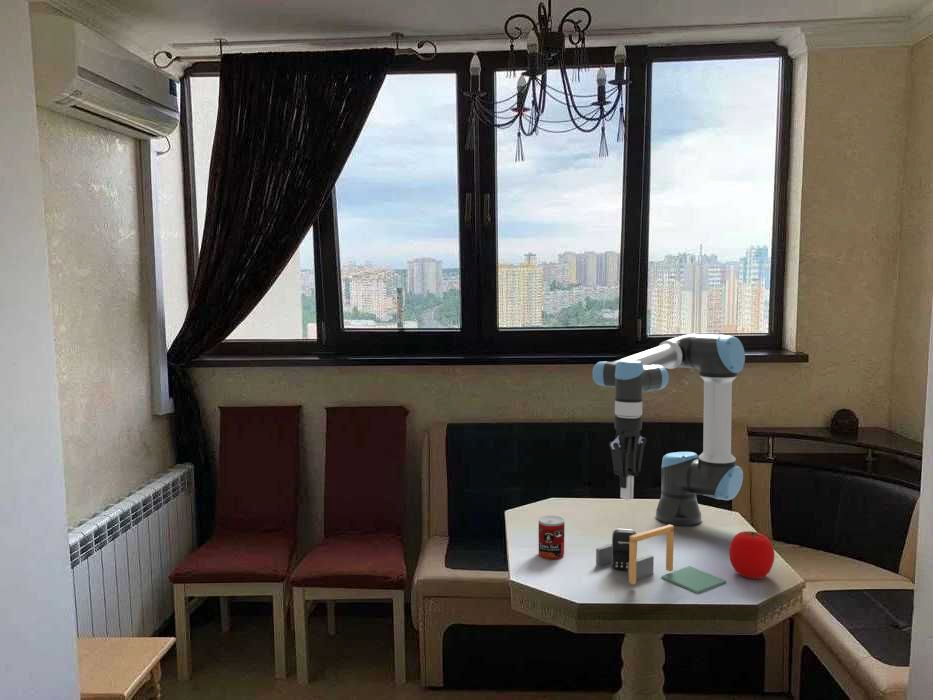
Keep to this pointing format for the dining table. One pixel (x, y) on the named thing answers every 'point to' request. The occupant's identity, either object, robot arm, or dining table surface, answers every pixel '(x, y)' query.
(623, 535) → the battery charger
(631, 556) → the arched handle
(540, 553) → the canned food
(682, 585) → the mat
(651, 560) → the clip
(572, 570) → the dining table surface
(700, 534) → the dining table surface
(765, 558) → the tomato
